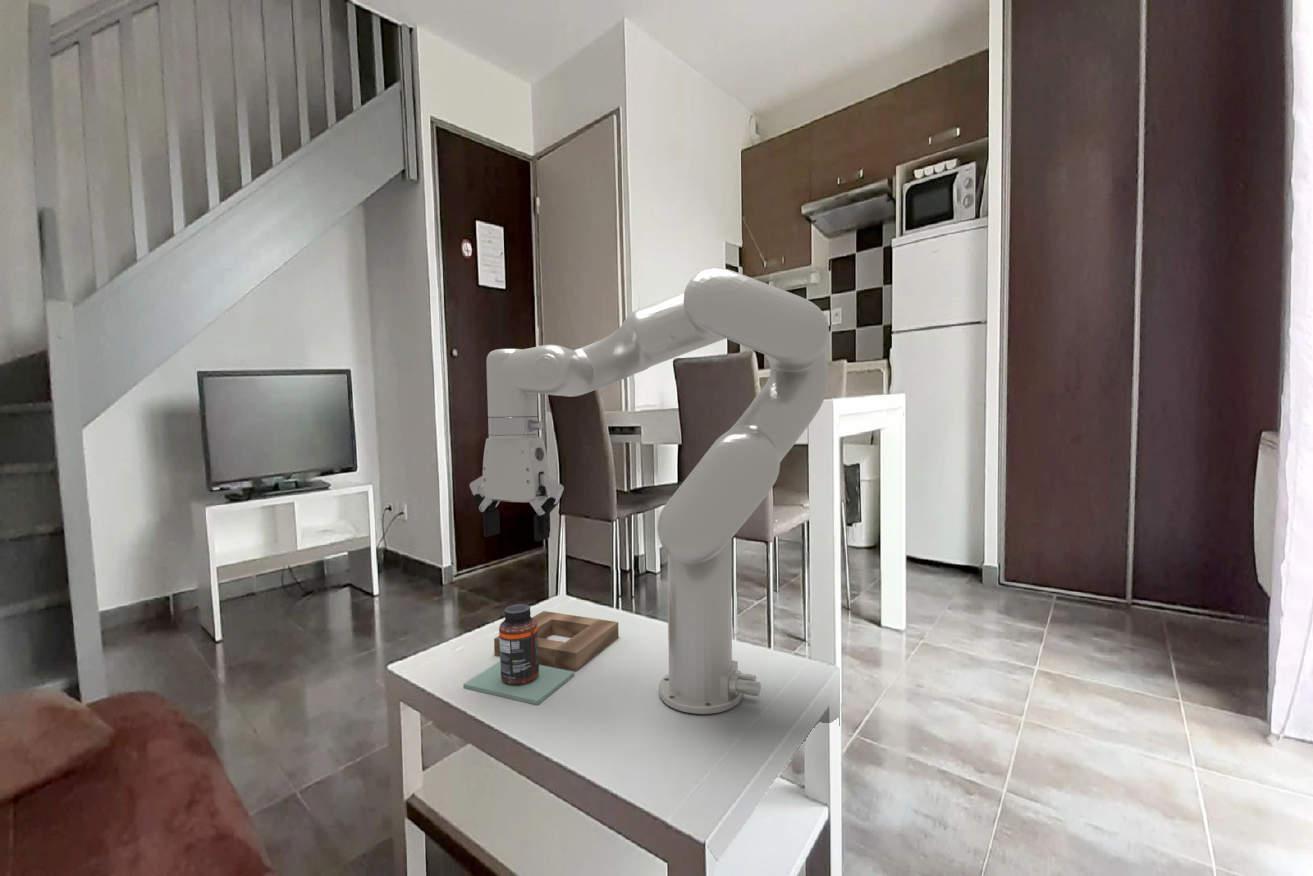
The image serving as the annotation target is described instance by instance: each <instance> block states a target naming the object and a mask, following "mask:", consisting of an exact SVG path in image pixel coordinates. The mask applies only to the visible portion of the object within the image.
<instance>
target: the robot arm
mask: <svg viewBox="0 0 1313 876" xmlns="http://www.w3.org/2000/svg"><path fill="white" fill-rule="evenodd" d="M828 322H829V321H828V319H827V317H826V315H825V313H824V311H822V309H821V308H820V307H819V306H818V305H816V304H815V303H814V302H812V301H810V300H809V299H806V298H804V297H802V296H800V295H798V294H794V293H792V292H789V291H787V290H784V289H781V288H779V287H776V286H773V285H771V284H768V283H765V282H763V281H760V280H757V279H755V278H752V277H750V276H747V275H745V274H742V273H739V272H737V271H734V270H731V269H728V268H723V267H722V268H721V267H711V268H707V269H704V270H701V271H700V272H698V273H696V274H694V276H692V278H691V279H690V280H689V281H688V283H687V284H686V286H685V289H684V291H683V292H680V293H678V294H675V295H673V296H670V297H668V298H664V299H663V300H660V301H657V302H655V303H652V304H649V305H646V306H644V307H641V308H638V309H636V310H634V311H632V312H631V313H630V314H629V315H628V316H627V317H626V318H625V319H624V321H623V322H622V324H621V325H620V327H619V328H617V329H616V330H615V331H614V332H613V333H612V334H609V335H608V336H605V338H602V339H600V340H598V341H595V342H593V343H590V344H588V345H585V346H583V347H580V348H577V349H574V350H573V349H570V348H568V347H564V346H562V345H559V344H542V345H539V346H535V347H533V346H532V347H530V348H529V347H528V348H523V349H521V348H499V349H494V350H492V351H490V352H488V354H487V356H486V391H487V392H486V393H487V416H488V418H487V419H488V420H487V421H488V423H487V424H488V437H487V438H486V439H485V445H484V450H483V458H482V459H483V460H482V475H481V476H479V477H478V478H476V479H475V480H473V481H471V482H470V483H469V488H470V490H471V494H472V495H473V499H474V502H475V503H476V504H477V505H478V510H479V512H481V513H482V516H483V517H482V521H483V523H482V524H483V536H484V538H485V537H486V538H489V537H492V536H496V535H498V534H500V533H501V520H500V515H501V514H500V509H499V508H497V507H498V506H499V504H500V503H501V502H510V503H529V505H530V506H531V507H532V508H533V510H534V511H535V512H536V514H534V515H533V538H534V541H535V542H541V541H544V540H547V539H549V538H550V534H551V533H550V532H551V513H553V512H554V509H555V508H556V506H557V505H559V503H560V499H561V497H562V494H563V491H564V489H565V487H564V485H562V484H561V483H560V482H558V481H556V480H555V479H553V478H552V477H550V467H549V462H548V461H549V460H548V453H547V450H546V446H545V445H546V444H545V441H544V438H543V437H540V436H539V430H540V431H542V430H543V429H544V423H543V421H541V420H540V421H539V417H538V394H541V395H542V394H543V395H549V396H557V397H558V396H559V397H561V396H562V397H569V398H571V397H579V396H583V395H585V394H588V393H591V392H593V391H596V390H599V389H601V388H604V387H607V386H611V385H613V384H615V383H617V382H620V381H622V380H624V379H626V378H629V377H631V376H634V375H636V374H638V373H641V372H644V371H646V370H647V369H649V368H651V367H654V366H656V365H659V364H662V363H663V362H667V361H669V360H672V359H675V358H677V357H679V356H682V355H685V354H688V353H690V352H693V351H695V350H699V349H702V348H704V347H707V346H710V345H713V344H716V343H718V342H720V341H723V340H726V339H727V340H729V341H731V342H733V343H736V344H738V345H741V346H743V347H745V348H747V349H750V350H752V351H755V352H758V353H761V354H763V355H764V356H765V358H766V360H767V361H768V362H769V367H770V371H769V376H768V379H767V382H766V383H765V384H764V386H763V387H762V388H761V390H760V391H759V392H758V394H757V395H756V396H755V397H754V398H753V400H752V401H751V403H750V404H749V406H748V407H747V408H746V409H745V411H744V412H743V413H742V415H741V416H740V417H739V418H738V420H737V421H736V422H735V423H734V424H733V425H732V427H730V429H728V430H727V431H726V432H724V433H723V434H721V435H720V436H719V437H718V438H717V439H716V440H715V441H714V443H713V444H712V445H711V446H710V448H708V450H707V451H706V452H705V453H704V455H703V456H702V458H701V459H700V460H699V462H698V463H697V464H696V466H695V467H694V468H693V469H692V470H691V472H690V473H689V474H688V476H687V477H686V478H685V479H684V481H683V482H682V483H681V485H679V487H678V488H677V489H676V491H675V492H674V493H673V494H672V496H671V497H669V500H667V502H666V503H665V505H664V506H663V507H662V509H661V510H660V513H659V516H658V520H657V536H658V540H659V543H660V544H661V547H662V548H663V550H664V551H665V553H667V623H668V624H667V629H668V631H667V632H668V636H667V638H668V641H667V642H668V674H666V675H665V676H664V677H663V678H662V679H661V680H660V681H659V685H658V694H659V698H660V699H661V700H662V701H663V702H664V704H666V705H667V706H669V707H670V708H672V709H674V710H677V711H680V712H683V713H688V714H694V715H713V714H718V713H722V712H726V711H728V710H730V709H733V708H734V707H736V706H737V705H739V704H740V702H741V701H742V699H743V697H744V694H746V695H748V696H753V697H757V698H759V697H760V696H761V695H760V694H761V690H762V687H761V686H762V685H761V684H762V683H761V682H760V681H757V675H756V674H749V673H742V672H741V671H742V670H741V671H740V670H739V667H738V666H739V665H738V663H739V661H738V660H737V661H736V660H733V634H732V633H733V631H732V629H733V628H732V627H733V626H732V625H733V624H732V622H733V621H732V614H733V613H732V591H733V590H732V538H733V537H734V536H735V535H736V534H737V533H738V531H739V530H740V529H741V528H742V526H743V525H744V524H745V523H746V522H747V520H748V519H749V518H750V517H751V516H752V514H753V513H754V512H755V510H757V509H758V507H759V506H760V504H761V503H762V502H763V501H764V499H766V497H767V496H768V495H769V493H770V491H771V490H772V488H773V487H774V485H775V483H776V481H777V480H778V476H779V474H780V466H781V462H782V461H783V459H784V458H785V457H786V456H787V454H788V453H789V452H790V450H791V449H792V448H793V446H794V445H795V444H796V443H797V441H799V439H800V438H801V436H802V435H803V433H804V432H805V430H806V429H807V428H808V427H809V426H810V424H811V423H812V421H813V420H814V419H815V417H816V416H817V414H818V412H819V410H821V407H822V405H823V403H824V400H825V398H826V395H827V390H828V385H829V364H828V359H827V355H826V353H825V348H826V346H827V345H828V340H829V335H830V327H829V325H830V324H829V323H828Z"/></svg>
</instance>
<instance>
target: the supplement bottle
mask: <svg viewBox="0 0 1313 876" xmlns="http://www.w3.org/2000/svg"><path fill="white" fill-rule="evenodd" d="M532 617H533V616H531V606H530V605H528V604H526V603H525V604H523V603H518V604H517V603H516V604H512V605H509V606H506V608H505V609H504V620H503V621H502V622H501V623H500V624H499V627H498V628H499V629H498V631H499V632H498V636H499V642H500V656H499V662H500V666H501V679H502V681H503V682H504V683H507V684H509V685H521V684H525V683H528V682H530V681H532V680H534V679H535V678H536V677H537V676H538V674H539V665H540V664H539V659H538V632H537V622H536V620H535V619H533V618H532Z"/></svg>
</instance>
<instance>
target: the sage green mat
mask: <svg viewBox="0 0 1313 876" xmlns="http://www.w3.org/2000/svg"><path fill="white" fill-rule="evenodd" d="M574 676H575V671H573V670H568V669H563V668H558V667H553V666H548V665H543V664H539V674H538V676H537V677H536V678H535V679H534V680H532V681H530V682H528V683H525V684H521V685H509V684H507V683H504V682H503V681H502V679H501V666H500V661H498V662H497V663H495V664H493V665H492V666H490V667H488V668H487V669H485V670H484V671H482V672H481V673H479V674H477V675H476V676H474V677H472V678H471V679H469V680H467V681H466V682H465V683H463V684H462V686H463V687H462V688H463V689H466V690H470V691H475V692H479V693H485V694H488V695H493V696H497V697H501V698H507V699H510V700H515V701H518V702H524V703H527V704H531V705H532V704H533V705H536V706H538V705H539V704H541V703H542V702H543V701H545V700H546V699H547V698H549V697H550V696H551V695H552V694H553V693H555V692H556V691H558V689H560V688H561V687H563V685H565V684H566V683H567V682H569V680H572V678H573V677H574Z"/></svg>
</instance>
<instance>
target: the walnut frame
mask: <svg viewBox="0 0 1313 876" xmlns="http://www.w3.org/2000/svg"><path fill="white" fill-rule="evenodd" d="M531 617H532V618H533V619H535V620H536V622H537V632H538V659H539V665H542V666H547V667H552V668H557V669H562V670H567V671H573V672H577V671H579V670H580V669H581V668H582V667H584V666H585V665H586V664H588V663H589V662H590V661H591V660H592V659H594V658H595V657H596V656H598V655H599V654H600V653H601V652H603V651H604V650H605V649H606V648H608V646H610V645H611V644H613V643H614V642H615V641H616V640H617V639H619V638H620V637H619V622H618V621H616V620H615V621H614V620H607V619H599V618H594V617H588V616H587V617H586V616H579V615H572V614H566V613H562V612H561V613H559V612H553V611H547V610H542V611H541V612H539V613H537V614H536V615H534V616H531ZM552 635H555V636H561V637H565V638H570V639H568V640H567V641H560V640H556V639H550V638H549V637H550V636H552ZM548 638H549V639H548ZM493 643H494V645H493V646H494V647H493V649H494V651H493V652H494V656H496V657H500V642H499V635H497V636H496V637H494V638H493Z"/></svg>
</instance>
